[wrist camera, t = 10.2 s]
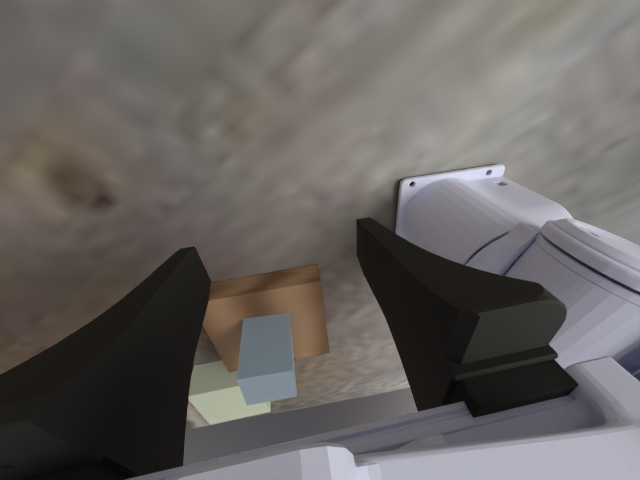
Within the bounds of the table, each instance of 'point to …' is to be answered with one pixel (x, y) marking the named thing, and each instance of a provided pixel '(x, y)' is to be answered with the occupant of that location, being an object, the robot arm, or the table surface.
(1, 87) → the table surface
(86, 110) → the table surface
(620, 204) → the table surface
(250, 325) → the slate block
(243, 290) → the walnut block
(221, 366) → the sage block
